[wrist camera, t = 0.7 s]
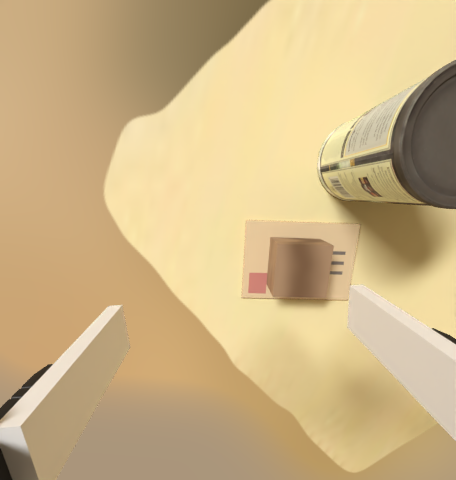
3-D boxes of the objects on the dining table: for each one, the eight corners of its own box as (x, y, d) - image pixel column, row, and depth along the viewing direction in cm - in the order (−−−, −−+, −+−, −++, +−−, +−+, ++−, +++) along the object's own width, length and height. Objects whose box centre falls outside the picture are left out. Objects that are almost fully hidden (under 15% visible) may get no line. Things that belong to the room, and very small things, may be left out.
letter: (359, 223, 31) (360, 224, 31) (346, 299, 34) (347, 300, 33) (246, 219, 31) (246, 220, 30) (241, 296, 33) (241, 297, 33)
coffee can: (407, 135, 29) (577, 85, 15) (371, 211, 31) (492, 227, 17) (336, 106, 28) (449, 24, 14) (304, 186, 30) (375, 182, 16)
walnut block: (319, 238, 31) (333, 245, 27) (313, 285, 33) (326, 298, 29) (270, 237, 31) (277, 243, 27) (266, 284, 32) (272, 296, 28)
